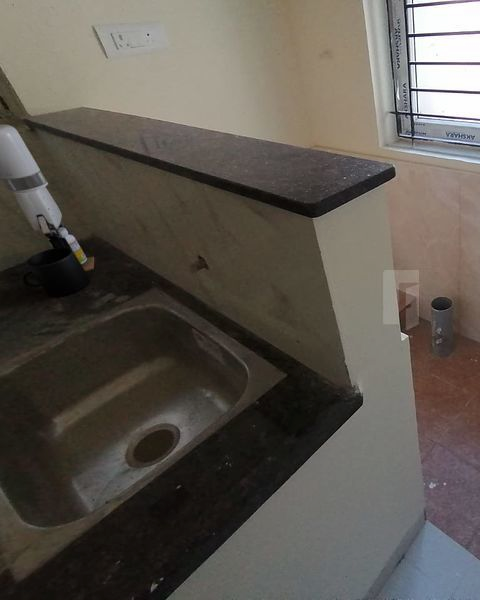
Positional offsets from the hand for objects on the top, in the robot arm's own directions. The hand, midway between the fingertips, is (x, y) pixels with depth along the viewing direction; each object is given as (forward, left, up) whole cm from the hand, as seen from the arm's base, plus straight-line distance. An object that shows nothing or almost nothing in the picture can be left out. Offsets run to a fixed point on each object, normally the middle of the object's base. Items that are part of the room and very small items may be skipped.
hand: (66, 247), depth 103 cm
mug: (-3, -10, -7) cm, 12 cm away
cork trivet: (0, 0, -6) cm, 6 cm away
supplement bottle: (0, 0, -5) cm, 5 cm away
